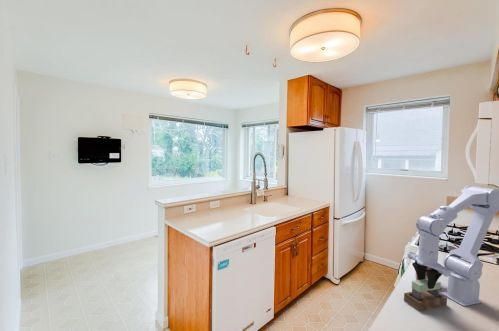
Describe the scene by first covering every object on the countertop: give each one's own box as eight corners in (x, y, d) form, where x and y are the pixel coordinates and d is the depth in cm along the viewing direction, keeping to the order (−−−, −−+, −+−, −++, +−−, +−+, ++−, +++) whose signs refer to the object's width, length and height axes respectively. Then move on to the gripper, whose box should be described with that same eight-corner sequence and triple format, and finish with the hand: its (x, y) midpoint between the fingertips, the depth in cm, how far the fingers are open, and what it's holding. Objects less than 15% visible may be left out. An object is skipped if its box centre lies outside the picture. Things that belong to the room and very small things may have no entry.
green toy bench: (431, 294, 90) (432, 277, 89) (439, 299, 87) (440, 282, 87) (411, 297, 87) (412, 281, 87) (418, 302, 84) (419, 285, 84)
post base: (430, 295, 92) (430, 288, 92) (446, 305, 86) (447, 297, 86) (403, 300, 88) (404, 293, 88) (418, 311, 83) (419, 303, 83)
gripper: (402, 242, 92) (400, 276, 93) (440, 259, 78) (438, 298, 79) (416, 241, 94) (414, 274, 95) (456, 257, 80) (453, 295, 81)
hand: (426, 285), depth 87 cm, fingers closed on green toy bench, 3 cm apart
